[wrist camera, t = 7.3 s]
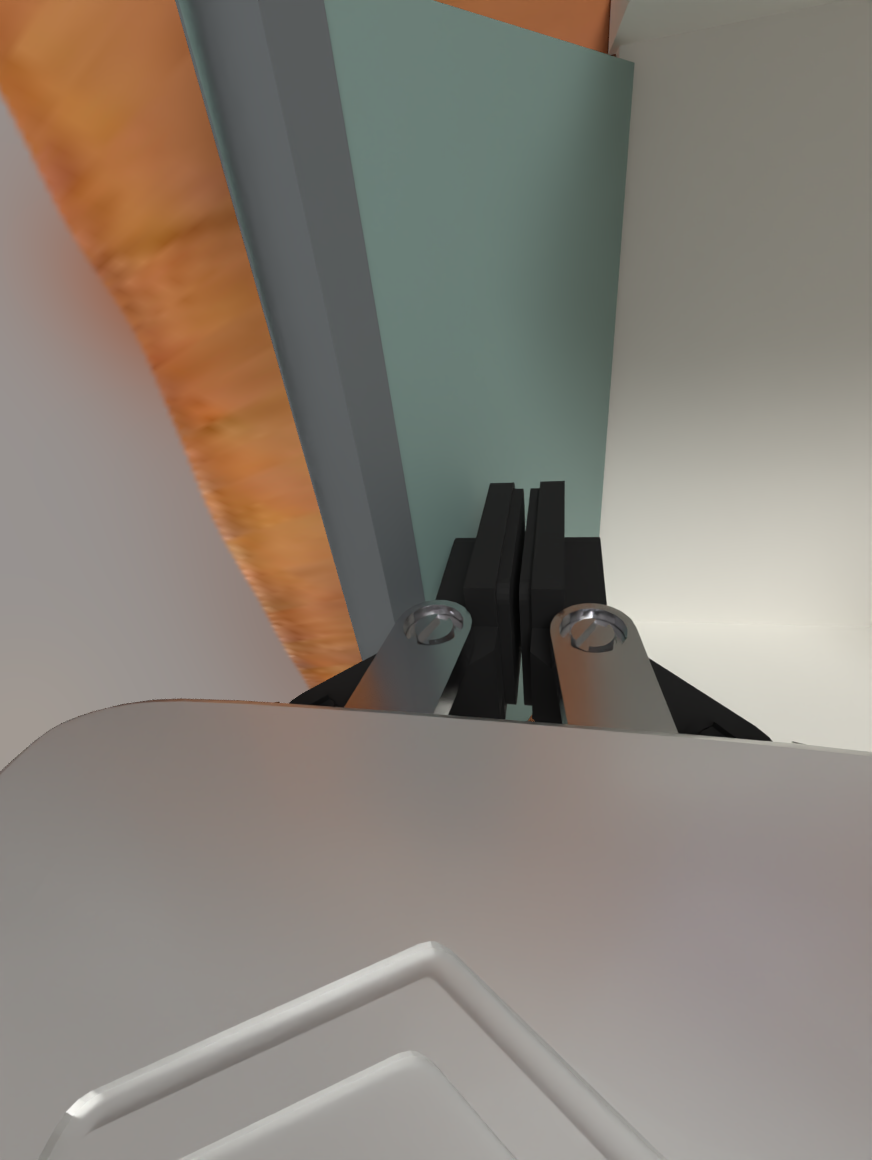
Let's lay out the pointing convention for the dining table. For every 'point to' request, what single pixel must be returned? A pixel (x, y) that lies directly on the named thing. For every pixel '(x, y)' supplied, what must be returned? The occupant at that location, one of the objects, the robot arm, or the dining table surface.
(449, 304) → the panel
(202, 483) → the dining table surface
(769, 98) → the teal front storage box
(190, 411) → the dining table surface
